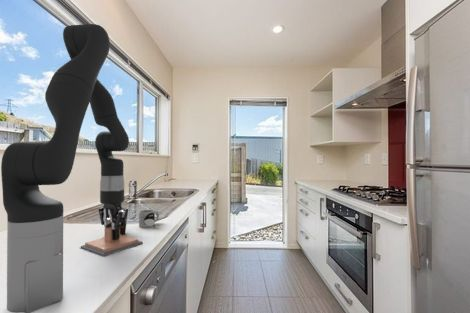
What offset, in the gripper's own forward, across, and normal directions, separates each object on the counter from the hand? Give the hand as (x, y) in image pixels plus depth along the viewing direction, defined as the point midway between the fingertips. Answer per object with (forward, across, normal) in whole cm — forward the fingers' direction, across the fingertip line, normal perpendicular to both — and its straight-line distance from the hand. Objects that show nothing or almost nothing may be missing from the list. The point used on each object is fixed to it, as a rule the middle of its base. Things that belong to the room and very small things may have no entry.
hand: (112, 238), depth 86 cm
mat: (+2, 0, 0) cm, 2 cm away
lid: (+2, 0, 0) cm, 2 cm away
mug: (+3, -12, +25) cm, 28 cm away
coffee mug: (+3, -12, +10) cm, 16 cm away
